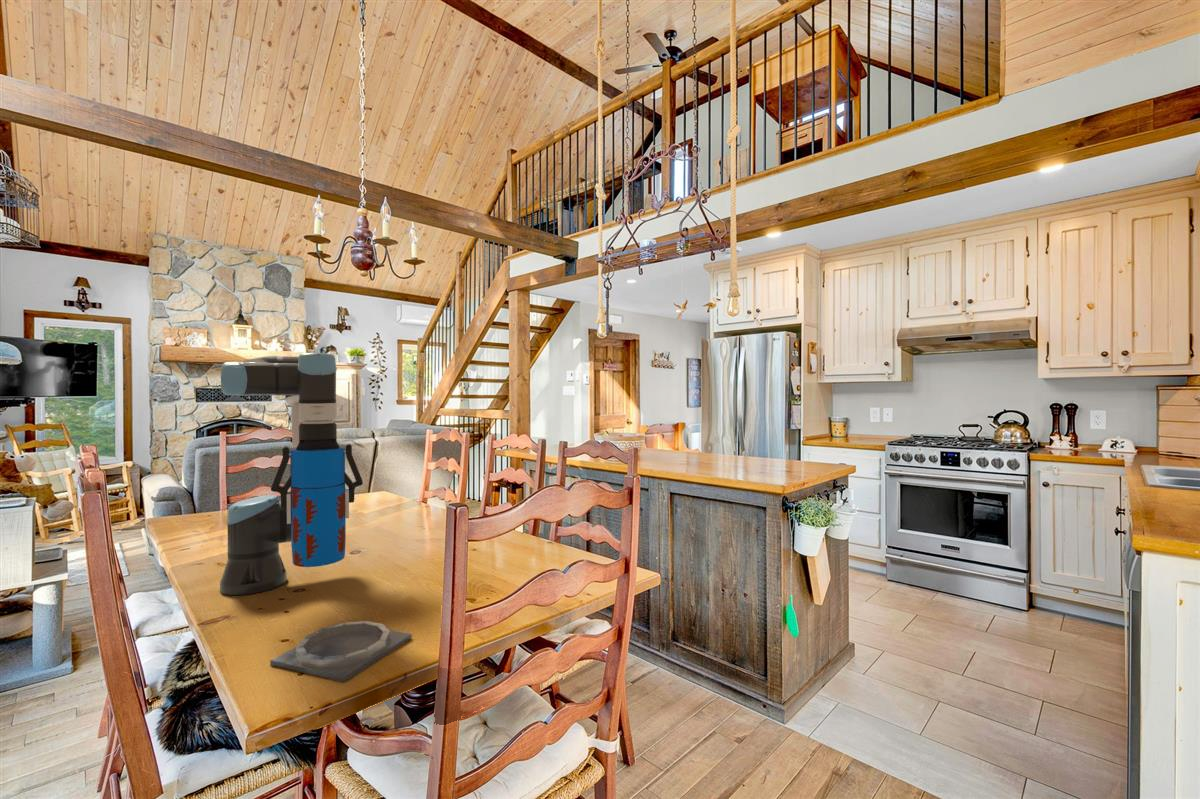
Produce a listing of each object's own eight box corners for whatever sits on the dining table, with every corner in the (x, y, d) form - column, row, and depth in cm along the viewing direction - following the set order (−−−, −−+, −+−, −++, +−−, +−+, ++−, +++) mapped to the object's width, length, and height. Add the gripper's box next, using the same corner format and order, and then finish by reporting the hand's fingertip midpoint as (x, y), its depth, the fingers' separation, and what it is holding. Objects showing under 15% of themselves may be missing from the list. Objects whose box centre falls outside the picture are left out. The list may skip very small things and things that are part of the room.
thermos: (332, 549, 130) (331, 445, 129) (354, 558, 123) (353, 448, 122) (283, 560, 121) (282, 449, 120) (303, 570, 114) (302, 453, 114)
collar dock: (270, 665, 103) (270, 652, 102) (344, 626, 119) (344, 615, 119) (344, 682, 96) (344, 668, 96) (411, 638, 113) (411, 626, 113)
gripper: (254, 424, 113) (255, 529, 113) (374, 421, 123) (375, 517, 123) (259, 422, 120) (260, 521, 120) (373, 419, 130) (374, 511, 130)
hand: (318, 519), depth 122 cm, fingers closed on thermos, 11 cm apart
